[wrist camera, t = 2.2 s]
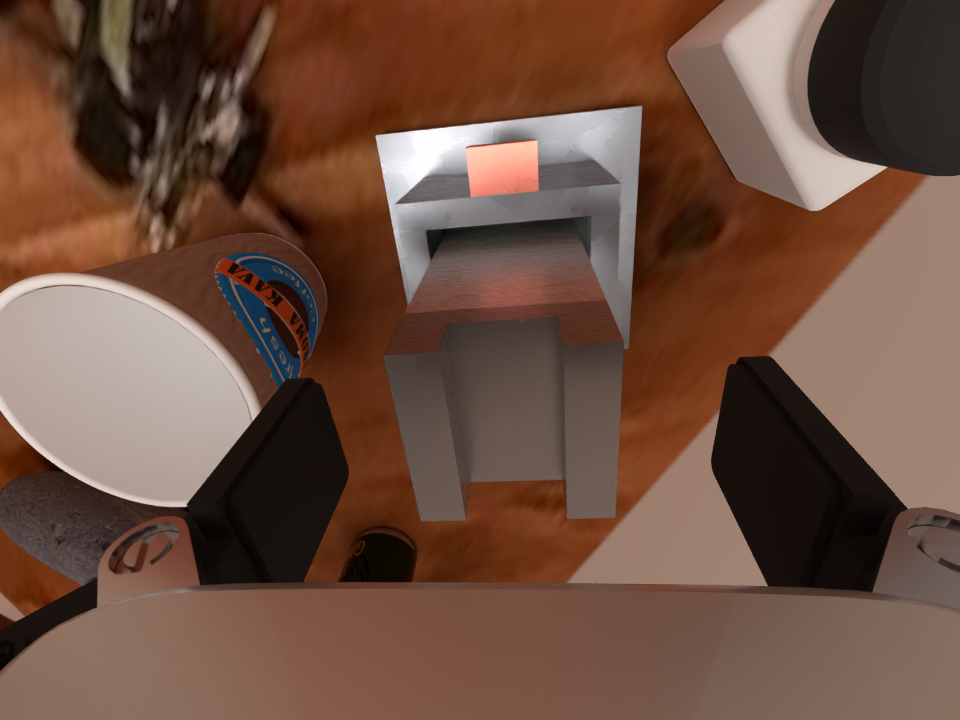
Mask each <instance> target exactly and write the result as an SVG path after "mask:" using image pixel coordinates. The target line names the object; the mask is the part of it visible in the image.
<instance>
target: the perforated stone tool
mask: <svg viewBox="0 0 960 720" xmlns="http://www.w3.org/2000/svg"><path fill="white" fill-rule="evenodd" d="M187 513H188V512H187V511H185V510H184V509H182V508H180V507H164V506H155V505H148V504H143V503H139V502H134V501H131V500H127V499H124V498H121V497H118V496H115V495H112V494H109V493H107V492H104V491H102V490H100V489H97V488H95V487H93V486H91V485H89V484H87V483H85V482H83V481H81V480H79V479H77V478H76V477H74V476H72V475H70V474H69V473H67V472H63V471H43V472H37V473H30V474H27V475H24V476H20V477H17V478H15V479H14V480H12V481H11V482H9V483H7V484H6V485H5V486H3V488H2V489H0V526H1V528H2V529H3V531H4V532H5V533H6V534H7V535H8V536H9V538H10V539H11V540H13V541H14V542H15V543H16V544H17V545H18V546H19V547H21V548H23V549H24V550H25V551H26V552H27V553H28V554H30V555H31V556H32V557H34V558H36V559H37V560H39V561H40V562H42V563H44V564H45V565H47V566H49V567H50V568H52V569H54V570H56V571H57V572H59V573H61V574H63V575H65V576H66V577H68V578H70V579H72V580H74V581H76V582H77V583H79V584H80V585H82V586H83V585H85V584H87V583H89V582H91V581H93V580H95V579H96V578H98V567H99V563H100V560H101V558H102V557H103V555H104V553H105V552H106V550H107V549H108V548H109V547H110V546H111V545H112V544H113V543H114V542H115V541H116V540H117V539H118V538H119V537H121V536H122V535H123V534H125V533H126V532H128V531H129V530H131V529H132V528H134V527H136V526H138V525H140V524H142V523H144V522H147V521H149V520H152V519H155V518H159V517H165V516H175V517H179V518H181V519H183V518H184V517H185V516H186V514H187Z"/></svg>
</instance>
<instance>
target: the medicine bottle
mask: <svg viewBox="0 0 960 720" xmlns="http://www.w3.org/2000/svg"><path fill="white" fill-rule="evenodd" d="M667 59H668V62H669V64H670V65H671V67H672V69H673V71H674V72H675V74H676V76H677V78H678V79H679V81H680V83H681V84H682V86H683V88H684V90H685V91H686V93H687V95H688V97H689V98H690V100H691V102H692V104H693V105H694V107H695V109H696V111H697V112H698V114H699V116H700V117H701V119H702V121H703V123H704V124H705V126H706V128H707V130H708V131H709V133H710V135H711V137H712V138H713V140H714V142H715V143H716V145H717V147H718V149H719V150H720V152H721V154H722V156H723V157H724V159H725V161H726V163H727V164H728V166H729V168H730V170H731V171H732V173H733V175H734V176H735V178H736V180H738V181H739V182H741V183H743V184H746V185H748V186H751V187H753V188H756V189H758V190H761V191H763V192H765V193H768V194H770V195H773V196H775V197H778V198H780V199H783V200H785V201H788V202H790V203H793V204H795V205H797V206H800V207H802V208H805V209H807V210H810V211H818V210H821V209H823V208H825V207H826V206H828V205H829V204H831V203H833V202H834V201H836V200H837V199H839V198H840V197H842V196H844V195H845V194H847V193H848V192H850V191H851V190H853V189H854V188H856V187H858V186H859V185H861V184H862V183H864V182H865V181H867V180H868V179H870V178H872V177H873V176H875V175H876V174H878V173H879V172H881V171H882V170H884V169H886V168H887V167H890V168H895V169H899V170H904V171H909V172H914V173H919V174H925V175H932V176H956V175H960V0H724V1H723V2H722V3H721V4H720V5H719V6H717V7H716V8H715V9H714V10H713V11H712V12H711V13H709V14H708V15H707V16H706V17H705V18H704V19H702V20H701V21H700V22H699V23H698V24H697V25H695V26H694V27H693V28H692V29H691V30H690V31H689V32H687V33H686V34H685V35H684V36H683V37H682V38H680V39H679V40H678V41H677V42H676V43H675V44H673V45H672V46H671V47H670V49H669V50H668V53H667Z"/></svg>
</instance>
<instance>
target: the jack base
mask: <svg viewBox="0 0 960 720" xmlns="http://www.w3.org/2000/svg"><path fill="white" fill-rule="evenodd" d="M641 119H642V106H639V105H631V106H622V107H613V108H604V109H595V110H586V111H577V112H568V113H559V114H550V115H541V116H532V117H523V118H514V119H505V120H496V121H487V122H478V123H469V124H460V125H451V126H442V127H432V128H423V129H414V130H405V131H396V132H387V133H382V134H378V135H375V136H376V141H377V146H378V151H379V157H380V162H381V167H382V172H383V178H384V183H385V188H386V194H387V199H388V204H389V209H390V215H391V220H392V225H393V231H394V236H395V241H396V246H397V252H398V257H399V262H400V267H401V273H402V278H403V283H404V289H405V294H406V299H407V304H408V305H409V303H410V301H411V300H412V298H413V296H414V294H415V292H416V290H417V288H418V286H419V284H420V282H421V280H422V278H423V276H424V274H425V272H426V270H427V268H428V266H429V264H430V262H431V260H432V259H433V257H434V255H435V253H436V251H437V249H438V247H439V245H440V243H441V241H442V239H443V237H444V235H445V233H446V231H447V229H448V228H457V227H469V226H480V225H492V224H503V223H515V222H526V221H538V220H549V219H561V218H572V220H573V223H574V225H575V227H576V230H577V232H578V234H579V237H580V239H581V241H582V244H583V246H584V248H585V251H586V253H587V256H588V258H589V260H590V263H591V265H592V267H593V270H594V272H595V274H596V277H597V279H598V281H599V284H600V286H601V288H602V291H603V293H604V295H605V298H606V300H607V302H608V305H609V307H610V309H611V312H612V314H613V316H614V319H615V321H616V323H617V326H618V328H619V331H620V333H621V335H622V338H623V340H624V349H629V332H630V314H631V296H632V279H633V261H634V243H635V225H636V208H637V190H638V172H639V155H640V137H641Z"/></svg>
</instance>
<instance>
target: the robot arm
mask: <svg viewBox="0 0 960 720" xmlns="http://www.w3.org/2000/svg"><path fill="white" fill-rule="evenodd" d="M711 465H712V470H713V473H714V476H715V478H716V480H717V482H718V484H719V486H720V488H721V490H722V492H723V494H724V496H725V498H726V500H727V502H728V505H729V506H730V509H731V511H732V513H733V515H734V517H735V519H736V521H737V523H738V525H739V527H740V529H741V531H742V533H743V535H744V537H745V540H746V541H747V544H748V546H749V548H750V550H751V552H752V554H753V556H754V558H755V560H756V562H757V564H758V566H759V568H760V570H761V572H762V574H763V576H764V578H765V581H766V583H767V585H768V586H734V585H733V586H732V585H675V584H671V585H670V584H589V583H588V584H587V583H438V582H303V581H304V579H305V577H306V574H307V572H308V570H309V567H310V565H311V563H312V561H313V558H314V556H315V554H316V552H317V549H318V547H319V545H320V542H321V540H322V538H323V536H324V533H325V531H326V529H327V526H328V524H329V522H330V520H331V517H332V515H333V513H334V511H335V508H336V506H337V504H338V501H339V499H340V497H341V495H342V492H343V490H344V488H345V485H346V483H347V480H348V476H349V469H348V464H347V461H346V458H345V455H344V452H343V449H342V446H341V443H340V440H339V436H338V433H337V430H336V427H335V424H334V421H333V418H332V415H331V411H330V408H329V405H328V402H327V399H326V396H325V393H324V390H323V387H322V386H321V384H319V383H315V381H314V380H313V379H312V378H296V379H287V380H285V381H284V382H283V384H282V385H281V386H280V387H279V389H278V390H277V391H276V392H275V394H274V395H273V396H272V397H271V399H270V400H269V401H268V402H267V404H266V405H265V406H264V407H263V409H262V410H261V411H260V413H259V414H258V415H257V416H256V418H255V419H254V420H253V421H252V423H251V424H250V425H249V426H248V428H247V429H246V430H245V431H244V433H243V434H242V435H241V436H240V438H239V439H238V440H237V441H236V443H235V444H234V445H233V446H232V448H231V449H230V450H229V451H228V453H227V454H226V455H225V456H224V458H223V459H222V460H221V462H220V463H219V464H218V465H217V467H216V468H215V469H214V470H213V472H212V473H211V474H210V475H209V477H208V478H207V479H206V480H205V482H204V483H203V484H202V485H201V487H200V488H199V489H198V490H197V492H196V493H195V494H194V495H193V497H192V498H191V499H190V500H189V502H188V503H187V504H186V505H187V507H188V509H189V510H190V511H189V512H188V513H187V514H186V516H185V517H184V518H183V519H181V518H179V517H175V516H165V517H159V518H155V519H152V520H149V521H147V522H144V523H142V524H140V525H138V526H136V527H134V528H132V529H131V530H129V531H128V532H126V533H125V534H123V535H122V536H121V537H119V538H118V539H117V540H116V541H115V542H114V543H113V544H112V545H111V546H110V547H109V548H108V549H107V550H106V552H105V553H104V555H103V557H102V558H101V560H100V563H99V567H98V578H96V579H95V580H93V581H91V582H89V583H87V584H85V585H83V586H81V587H80V588H78V589H76V590H74V591H72V592H70V593H68V594H67V595H65V596H63V597H61V598H59V599H57V600H55V601H54V602H52V603H50V604H48V605H46V606H44V607H42V608H40V609H39V610H37V611H35V612H33V613H31V614H29V615H27V616H26V617H24V618H22V619H20V620H18V621H16V622H14V623H13V624H11V625H9V626H7V627H5V628H3V629H1V630H0V720H960V514H957V513H953V512H949V511H946V510H942V509H935V508H928V507H922V508H910V509H907V507H906V506H905V505H904V504H903V503H902V502H901V501H900V500H899V499H898V497H897V496H896V495H895V493H894V492H893V491H892V490H891V489H890V488H889V487H888V486H887V485H886V483H885V482H884V481H883V480H882V479H881V478H880V477H879V476H878V475H877V474H876V472H875V471H874V470H873V469H872V468H871V467H870V466H869V465H868V464H867V462H866V461H865V460H864V459H863V458H862V457H861V456H860V455H859V454H858V452H857V451H856V450H855V449H854V448H853V447H852V446H851V445H850V444H849V443H848V441H847V440H846V439H845V438H844V437H843V436H842V435H841V434H840V433H839V431H838V430H837V429H836V428H835V427H834V426H833V425H832V424H831V423H830V422H829V420H828V419H827V418H826V417H825V416H824V415H823V414H822V413H821V411H820V410H819V409H818V408H817V407H816V406H815V405H814V404H813V403H812V401H811V400H810V399H809V398H808V397H807V396H806V395H805V394H804V393H803V391H802V390H801V389H800V388H799V387H798V386H797V385H796V384H795V383H794V382H793V380H791V378H790V377H789V376H788V375H787V374H786V373H785V372H784V370H783V369H782V368H781V367H780V366H779V365H778V364H777V363H776V362H775V360H774V359H773V358H771V357H770V356H757V357H740V358H739V359H738V360H737V362H736V364H731V365H729V367H728V370H727V375H726V380H725V386H724V391H723V397H722V402H721V408H720V413H719V419H718V424H717V429H716V435H715V441H714V446H713V452H712V458H711Z"/></svg>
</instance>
